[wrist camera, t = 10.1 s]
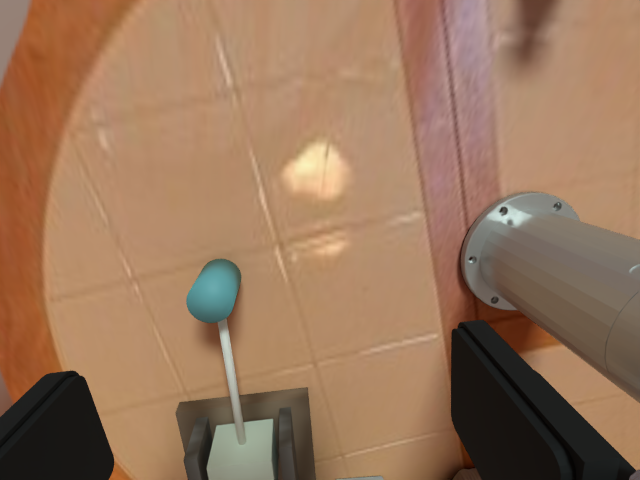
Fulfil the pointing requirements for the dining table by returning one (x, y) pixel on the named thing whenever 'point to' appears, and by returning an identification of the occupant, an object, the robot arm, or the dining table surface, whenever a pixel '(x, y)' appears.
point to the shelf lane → (278, 405)
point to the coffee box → (364, 478)
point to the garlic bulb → (467, 474)
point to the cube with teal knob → (232, 385)
